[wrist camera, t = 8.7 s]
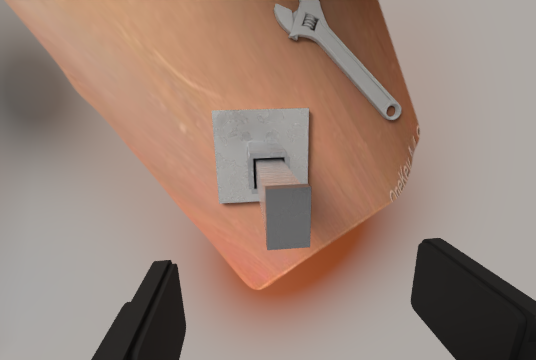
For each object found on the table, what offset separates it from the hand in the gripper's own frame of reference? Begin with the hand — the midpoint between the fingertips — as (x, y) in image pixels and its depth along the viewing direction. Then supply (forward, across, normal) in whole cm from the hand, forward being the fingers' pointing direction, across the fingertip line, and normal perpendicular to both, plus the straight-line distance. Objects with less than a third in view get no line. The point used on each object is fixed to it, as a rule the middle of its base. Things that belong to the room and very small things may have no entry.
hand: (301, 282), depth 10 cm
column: (+25, -1, +1) cm, 25 cm away
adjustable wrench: (+33, -12, -12) cm, 37 cm away
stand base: (+32, -1, +1) cm, 32 cm away
